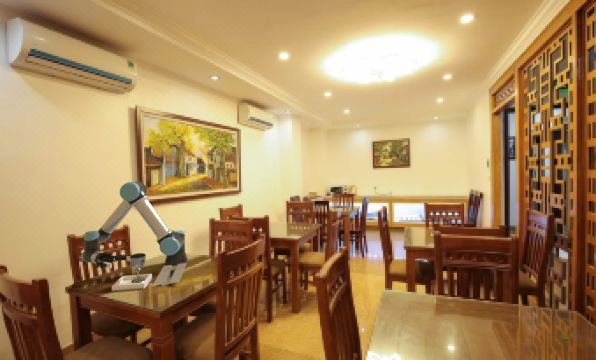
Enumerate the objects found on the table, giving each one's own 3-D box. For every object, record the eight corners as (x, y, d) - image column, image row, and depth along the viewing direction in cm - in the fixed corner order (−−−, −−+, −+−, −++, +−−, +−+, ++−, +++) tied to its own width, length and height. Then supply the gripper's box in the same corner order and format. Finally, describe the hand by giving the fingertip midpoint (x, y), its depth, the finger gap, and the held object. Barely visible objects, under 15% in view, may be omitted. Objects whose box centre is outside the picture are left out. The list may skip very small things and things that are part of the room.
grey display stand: (186, 289, 171) (192, 266, 182) (179, 282, 165) (186, 258, 176) (159, 293, 172) (167, 270, 183) (152, 286, 167) (160, 262, 178)
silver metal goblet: (134, 277, 175) (134, 252, 173) (148, 277, 176) (148, 253, 174) (127, 283, 168) (127, 258, 166) (142, 283, 168) (141, 258, 166)
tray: (152, 278, 178) (151, 273, 178) (144, 288, 162) (144, 283, 162) (122, 281, 174) (122, 276, 174) (111, 291, 159) (111, 286, 158)
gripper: (121, 259, 193) (142, 263, 183) (78, 270, 170) (100, 275, 161) (121, 247, 193) (142, 251, 183) (78, 257, 170) (100, 262, 161)
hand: (122, 262), depth 172 cm, fingers open, 13 cm apart
